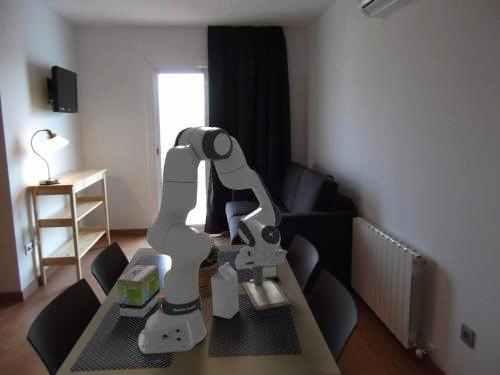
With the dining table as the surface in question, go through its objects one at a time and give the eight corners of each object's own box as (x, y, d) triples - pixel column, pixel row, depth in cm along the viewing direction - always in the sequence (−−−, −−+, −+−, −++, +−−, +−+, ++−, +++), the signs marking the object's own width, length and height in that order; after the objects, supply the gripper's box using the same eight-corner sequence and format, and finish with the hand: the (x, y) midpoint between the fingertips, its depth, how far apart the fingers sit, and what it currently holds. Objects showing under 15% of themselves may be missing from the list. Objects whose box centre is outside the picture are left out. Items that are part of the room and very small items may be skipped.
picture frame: (260, 280, 169) (260, 267, 168) (260, 278, 170) (259, 266, 169) (277, 277, 171) (277, 264, 170) (277, 276, 172) (276, 263, 171)
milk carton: (213, 315, 141) (210, 267, 137) (223, 306, 147) (220, 260, 143) (229, 319, 138) (226, 270, 134) (239, 310, 144) (236, 263, 140)
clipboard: (256, 310, 143) (256, 306, 143) (241, 284, 166) (241, 280, 166) (291, 304, 146) (291, 301, 146) (272, 279, 169) (272, 276, 169)
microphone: (255, 286, 159) (253, 257, 156) (252, 282, 163) (251, 253, 160) (264, 285, 160) (263, 256, 157) (261, 281, 164) (260, 252, 161)
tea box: (144, 318, 141) (140, 281, 138) (119, 316, 143) (115, 279, 140) (161, 299, 156) (158, 264, 153) (139, 297, 158) (135, 263, 155)
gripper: (286, 242, 153) (279, 257, 165) (236, 248, 149) (232, 263, 160) (290, 257, 150) (282, 270, 161) (239, 263, 145) (235, 277, 156)
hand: (257, 267), depth 160 cm, fingers closed on microphone, 4 cm apart
